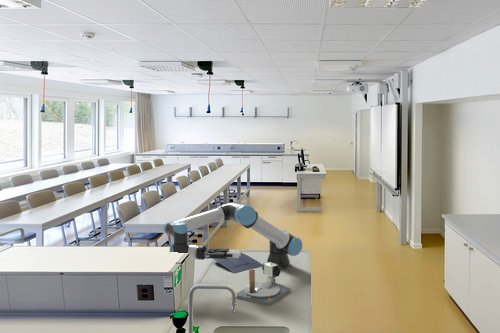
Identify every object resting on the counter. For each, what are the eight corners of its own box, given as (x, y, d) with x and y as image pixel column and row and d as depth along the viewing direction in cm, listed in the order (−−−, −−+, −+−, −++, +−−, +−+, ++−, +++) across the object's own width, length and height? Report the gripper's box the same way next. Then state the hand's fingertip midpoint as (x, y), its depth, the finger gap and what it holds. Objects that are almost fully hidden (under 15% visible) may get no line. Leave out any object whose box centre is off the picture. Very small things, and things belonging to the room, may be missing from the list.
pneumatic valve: (274, 286, 251) (274, 265, 250) (262, 280, 260) (261, 261, 259) (282, 283, 255) (281, 263, 254) (269, 278, 264) (268, 259, 263)
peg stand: (260, 282, 252) (260, 259, 251) (286, 290, 239) (286, 266, 238) (237, 292, 238) (237, 267, 237) (263, 301, 225) (263, 274, 224)
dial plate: (256, 284, 254) (256, 281, 254) (289, 291, 242) (289, 288, 242) (234, 297, 236) (234, 293, 236) (269, 305, 224) (269, 302, 224)
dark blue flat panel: (238, 254, 313) (238, 249, 312) (264, 269, 289) (264, 264, 288) (209, 260, 298) (209, 255, 298) (233, 277, 275) (234, 271, 274)
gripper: (202, 254, 245) (243, 257, 240) (192, 263, 230) (235, 266, 225) (202, 241, 245) (243, 243, 239) (192, 249, 229) (235, 251, 224)
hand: (239, 254), depth 232 cm, fingers open, 3 cm apart
